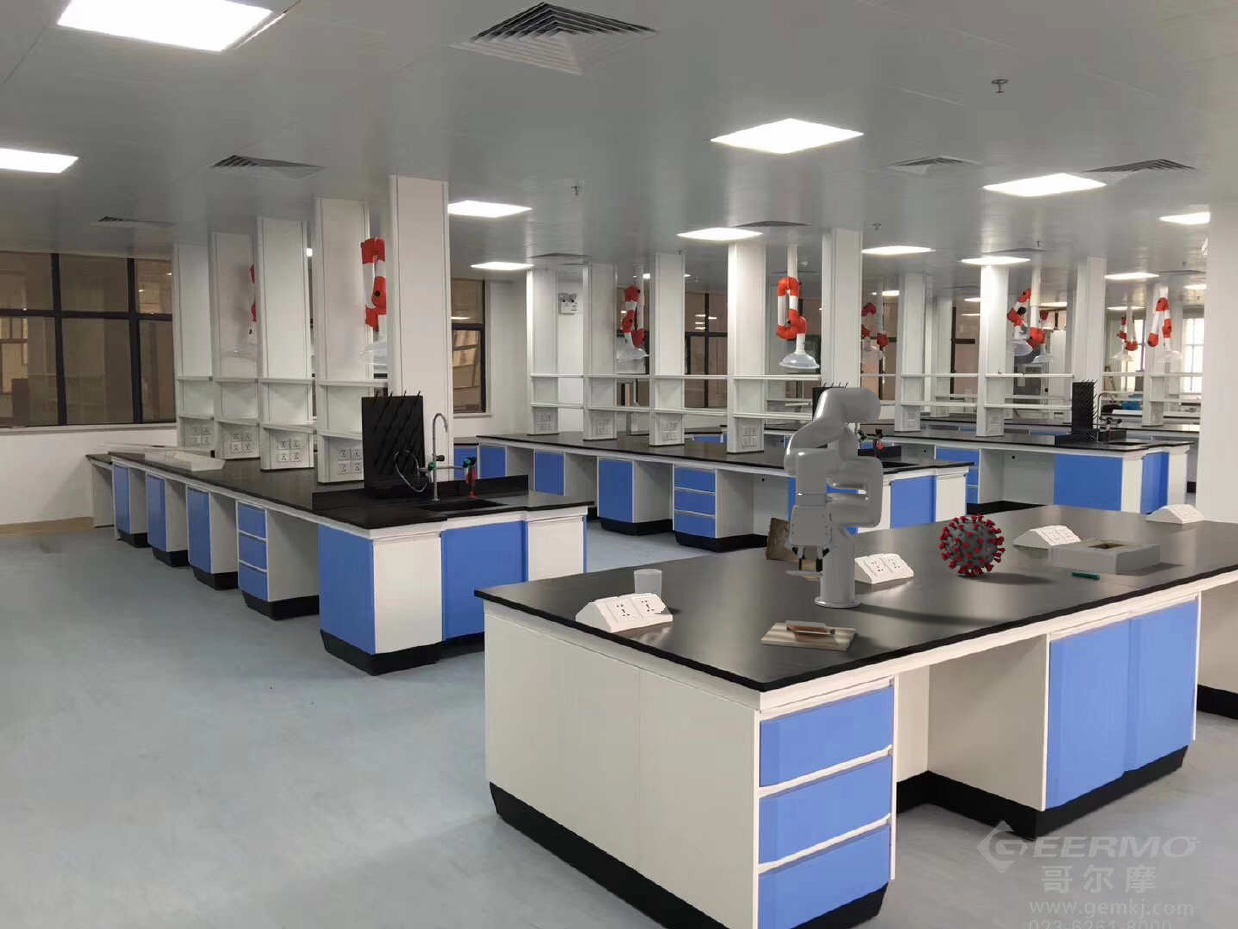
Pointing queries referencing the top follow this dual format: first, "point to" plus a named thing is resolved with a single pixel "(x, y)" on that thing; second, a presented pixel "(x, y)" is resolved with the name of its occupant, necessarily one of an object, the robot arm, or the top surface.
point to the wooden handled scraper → (808, 571)
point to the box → (1104, 555)
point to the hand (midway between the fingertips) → (810, 573)
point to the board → (809, 638)
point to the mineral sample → (779, 541)
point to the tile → (807, 626)
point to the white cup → (648, 581)
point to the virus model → (971, 545)
